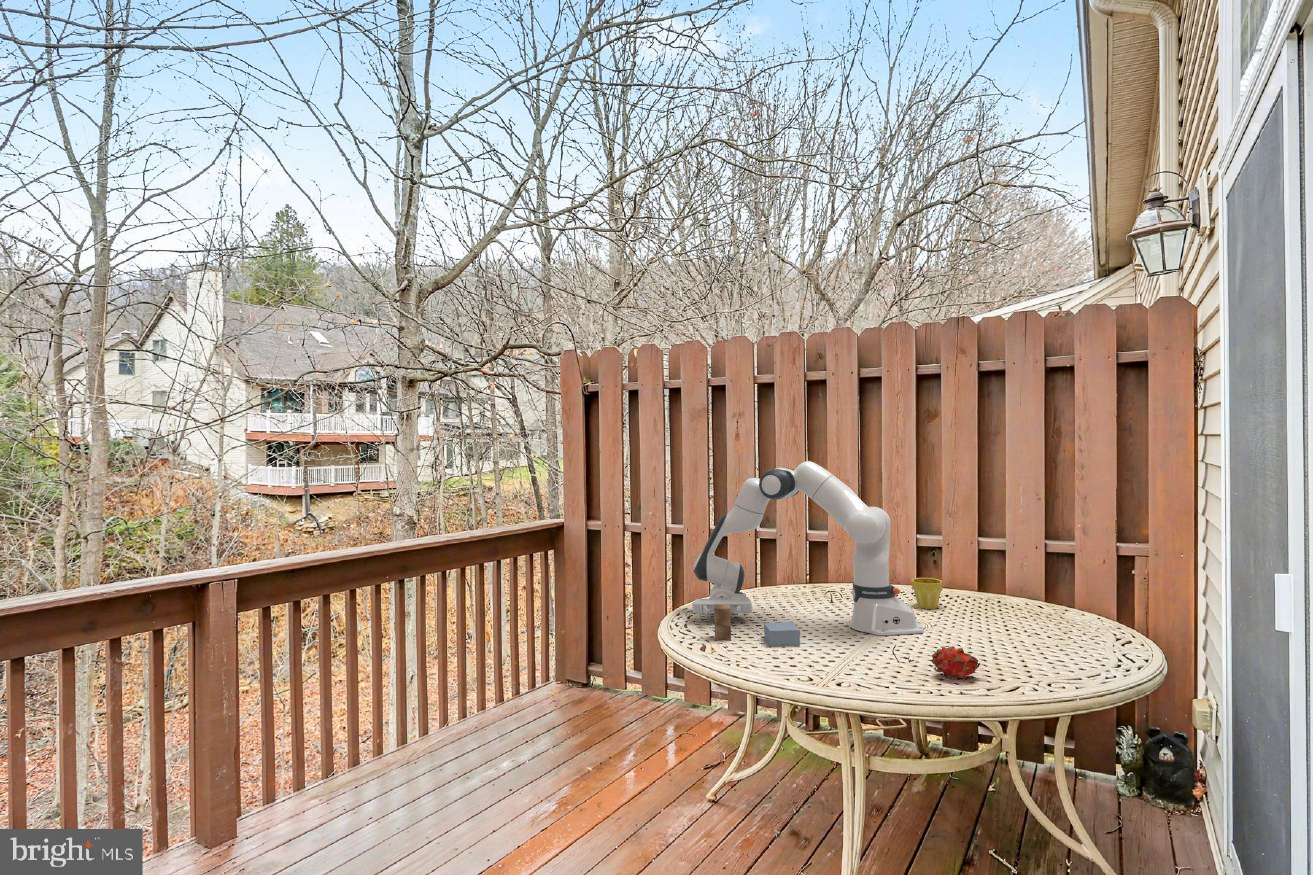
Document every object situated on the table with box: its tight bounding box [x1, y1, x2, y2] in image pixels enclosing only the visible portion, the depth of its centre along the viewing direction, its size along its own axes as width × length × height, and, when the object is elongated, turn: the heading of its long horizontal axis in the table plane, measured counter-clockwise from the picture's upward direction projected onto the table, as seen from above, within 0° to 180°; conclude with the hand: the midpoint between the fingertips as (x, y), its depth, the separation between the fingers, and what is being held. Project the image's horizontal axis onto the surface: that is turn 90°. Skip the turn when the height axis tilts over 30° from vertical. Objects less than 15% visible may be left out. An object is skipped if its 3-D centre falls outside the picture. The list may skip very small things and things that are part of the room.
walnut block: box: [713, 605, 732, 642], centre depth 202 cm, size 5×5×10 cm
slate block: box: [763, 621, 801, 648], centre depth 197 cm, size 9×9×5 cm
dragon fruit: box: [930, 645, 981, 680], centre depth 164 cm, size 8×8×12 cm
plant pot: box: [911, 577, 943, 610], centre depth 234 cm, size 10×10×10 cm
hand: (722, 611), depth 213 cm, fingers open, 8 cm apart
